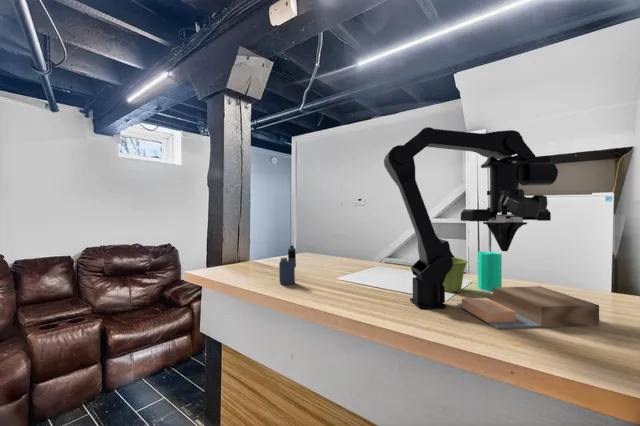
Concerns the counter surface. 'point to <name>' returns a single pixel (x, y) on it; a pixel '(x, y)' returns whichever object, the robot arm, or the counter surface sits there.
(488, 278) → the candle
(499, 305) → the salmon pink brick
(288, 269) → the vaping device
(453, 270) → the plant pot
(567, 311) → the wooden block
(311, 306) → the counter surface
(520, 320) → the mat
